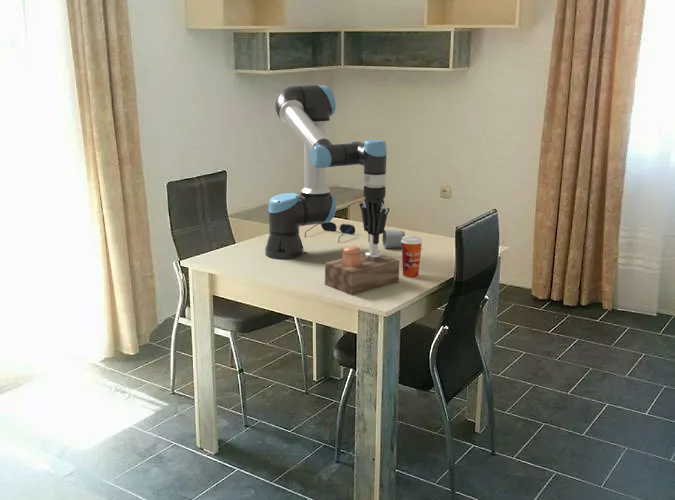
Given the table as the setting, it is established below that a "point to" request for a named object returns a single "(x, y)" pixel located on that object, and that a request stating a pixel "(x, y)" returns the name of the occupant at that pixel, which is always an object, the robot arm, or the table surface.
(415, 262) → the paper cup
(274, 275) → the table surface
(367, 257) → the grey button
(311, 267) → the table surface
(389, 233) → the ceramic mug
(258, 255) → the table surface
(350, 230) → the sunglasses
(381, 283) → the button console
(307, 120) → the robot arm
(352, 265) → the terracotta button
